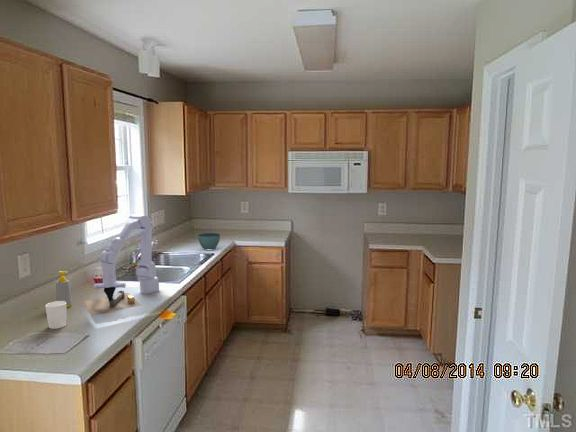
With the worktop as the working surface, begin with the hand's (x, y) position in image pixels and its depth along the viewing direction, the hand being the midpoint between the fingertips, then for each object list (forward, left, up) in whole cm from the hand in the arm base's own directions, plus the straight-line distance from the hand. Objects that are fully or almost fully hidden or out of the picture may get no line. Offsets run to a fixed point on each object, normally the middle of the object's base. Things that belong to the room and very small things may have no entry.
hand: (110, 301), depth 197 cm
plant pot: (-98, -96, -3) cm, 138 cm away
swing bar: (-3, -2, -1) cm, 4 cm away
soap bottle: (+18, -16, -3) cm, 24 cm away
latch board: (-1, -2, -3) cm, 3 cm away
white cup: (+24, +10, -3) cm, 27 cm away
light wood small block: (-9, +2, -1) cm, 9 cm away
